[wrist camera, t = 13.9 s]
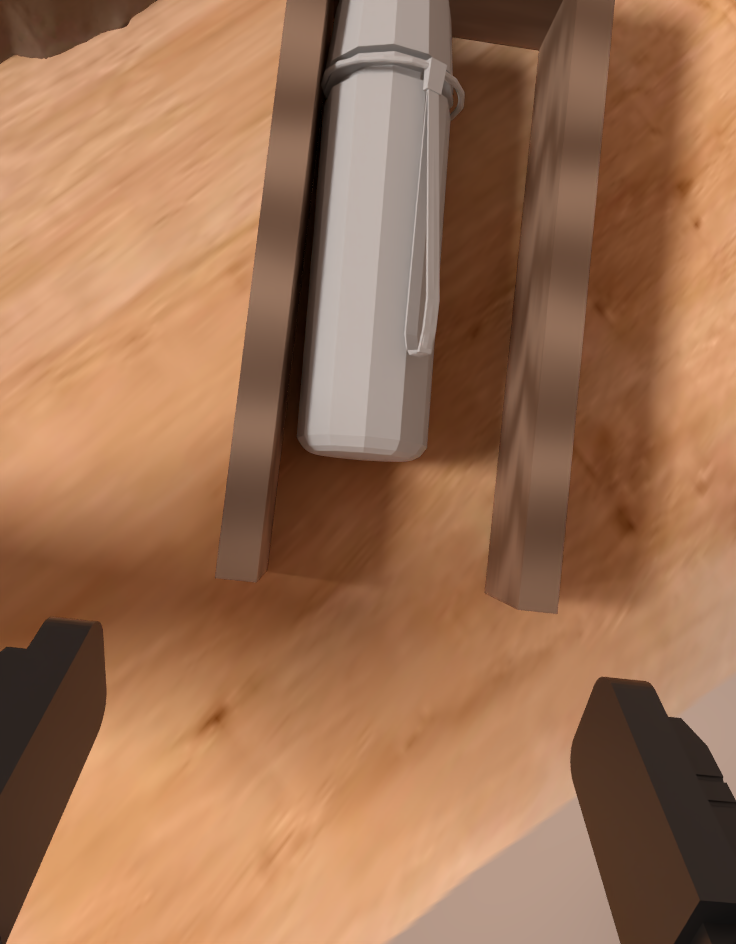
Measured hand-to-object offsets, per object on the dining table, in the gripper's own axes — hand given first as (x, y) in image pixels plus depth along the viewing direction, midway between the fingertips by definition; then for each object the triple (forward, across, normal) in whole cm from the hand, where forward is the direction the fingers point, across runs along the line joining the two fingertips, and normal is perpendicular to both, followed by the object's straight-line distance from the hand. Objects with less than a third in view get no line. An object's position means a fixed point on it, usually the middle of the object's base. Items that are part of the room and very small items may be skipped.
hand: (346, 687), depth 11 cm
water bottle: (+25, -1, +8) cm, 26 cm away
